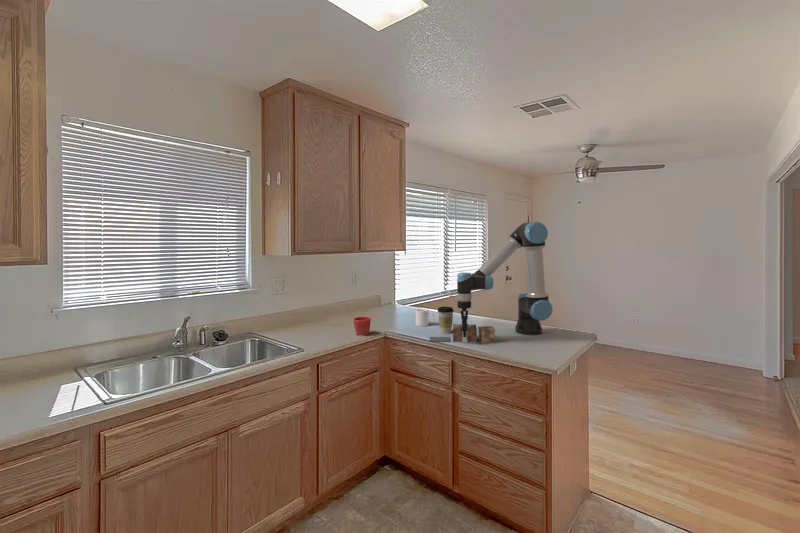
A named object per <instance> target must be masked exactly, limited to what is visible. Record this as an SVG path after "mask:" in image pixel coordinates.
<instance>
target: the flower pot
mask: <svg viewBox="0 0 800 533" xmlns="http://www.w3.org/2000/svg"><path fill="white" fill-rule="evenodd" d="M352 321H353V326H354V329H355V335H356V336H359V335H364V336H368V335H369V334H370V330H371V322H372V318H371V317H370V316H358V317H356V316H355V317H353V319H352Z"/></svg>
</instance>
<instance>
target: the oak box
mask: <svg viewBox="0 0 800 533" xmlns="http://www.w3.org/2000/svg"><path fill="white" fill-rule="evenodd" d="M477 328H478V340H479V342H481V343H495V342H496V341H495V340H496V338H495V336H496V328H494V326H491V325H490V326H488V325H486V326H477Z"/></svg>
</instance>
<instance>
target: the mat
mask: <svg viewBox="0 0 800 533" xmlns="http://www.w3.org/2000/svg"><path fill="white" fill-rule="evenodd" d="M428 342H429V343H431V342H432V343H436V342H437V343H450V336H430V337H429V341H428Z"/></svg>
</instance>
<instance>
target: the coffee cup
mask: <svg viewBox="0 0 800 533" xmlns="http://www.w3.org/2000/svg"><path fill="white" fill-rule="evenodd" d="M453 313H454V308H453V306H438V307H437V316H438V324H439V329H440V330H439V331H440V333H441V334H451V333H452V328H453V317H454V314H453Z"/></svg>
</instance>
